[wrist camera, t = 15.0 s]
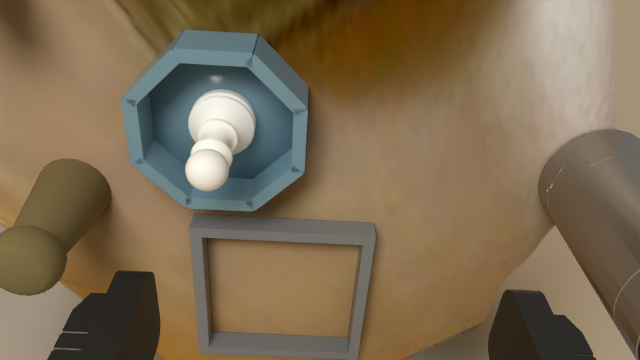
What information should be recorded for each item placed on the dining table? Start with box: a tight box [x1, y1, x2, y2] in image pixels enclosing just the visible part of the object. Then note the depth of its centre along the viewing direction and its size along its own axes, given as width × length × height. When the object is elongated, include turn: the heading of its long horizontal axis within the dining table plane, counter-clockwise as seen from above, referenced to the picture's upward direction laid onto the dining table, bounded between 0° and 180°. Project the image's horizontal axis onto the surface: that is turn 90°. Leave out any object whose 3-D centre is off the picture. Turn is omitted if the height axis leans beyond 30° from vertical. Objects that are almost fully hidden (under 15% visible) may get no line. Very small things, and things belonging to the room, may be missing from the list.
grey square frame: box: [189, 214, 376, 360], centre depth 52 cm, size 16×16×2 cm
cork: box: [0, 159, 111, 296], centre depth 42 cm, size 6×6×11 cm
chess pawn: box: [185, 89, 256, 191], centre depth 39 cm, size 5×5×9 cm
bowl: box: [121, 30, 309, 212], centre depth 41 cm, size 13×13×4 cm
